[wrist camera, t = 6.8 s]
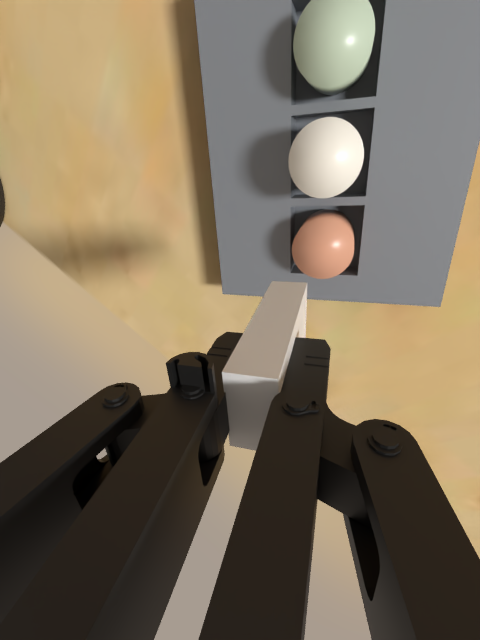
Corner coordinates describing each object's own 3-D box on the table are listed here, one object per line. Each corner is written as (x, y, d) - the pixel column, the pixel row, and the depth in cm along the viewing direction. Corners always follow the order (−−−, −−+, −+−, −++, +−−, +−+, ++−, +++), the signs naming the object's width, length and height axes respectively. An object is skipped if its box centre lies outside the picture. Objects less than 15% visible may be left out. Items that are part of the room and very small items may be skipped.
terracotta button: (298, 261, 29) (291, 277, 26) (299, 209, 27) (292, 219, 24) (351, 263, 28) (351, 280, 24) (356, 208, 26) (357, 218, 22)
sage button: (301, 98, 23) (292, 91, 20) (303, 17, 21) (293, -6, 18) (367, 90, 22) (370, 81, 19) (375, 3, 20) (380, -24, 17)
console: (232, 282, 33) (222, 294, 31) (209, -11, 23) (191, -29, 21) (432, 291, 28) (440, 306, 26) (513, -80, 18) (540, -116, 16)
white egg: (297, 191, 25) (288, 199, 21) (298, 123, 23) (288, 120, 19) (359, 189, 24) (359, 197, 20) (365, 117, 22) (368, 113, 18)
